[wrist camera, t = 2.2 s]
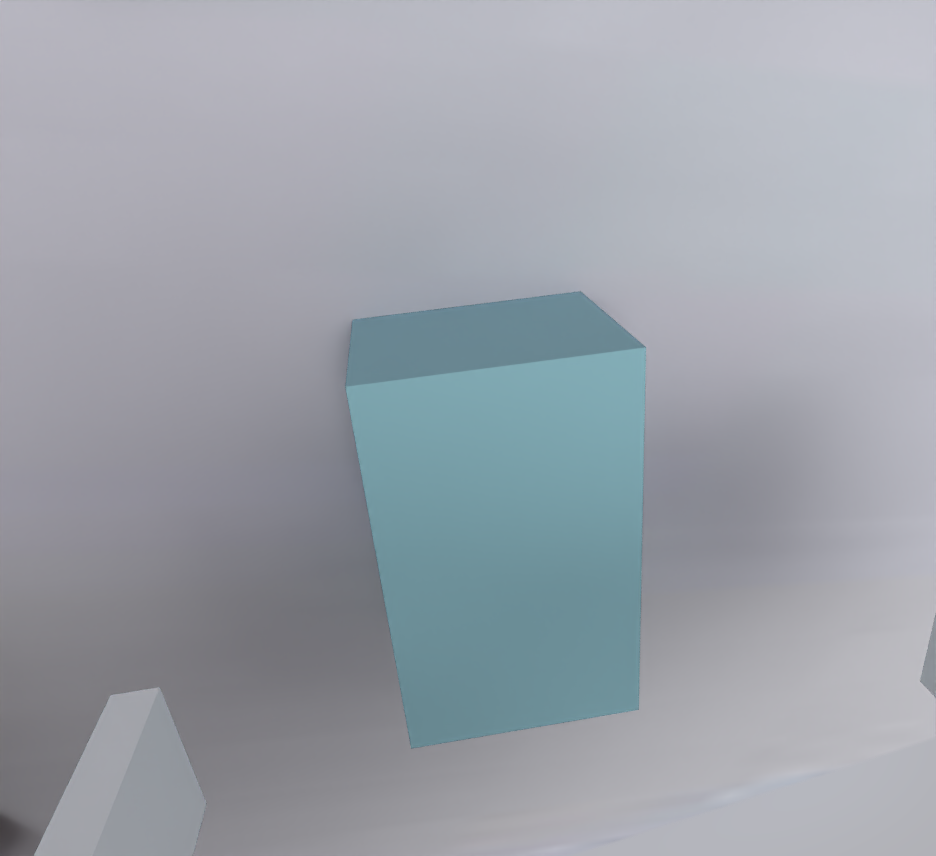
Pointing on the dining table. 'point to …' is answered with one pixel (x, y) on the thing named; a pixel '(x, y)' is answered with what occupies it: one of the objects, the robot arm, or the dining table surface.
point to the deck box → (504, 509)
